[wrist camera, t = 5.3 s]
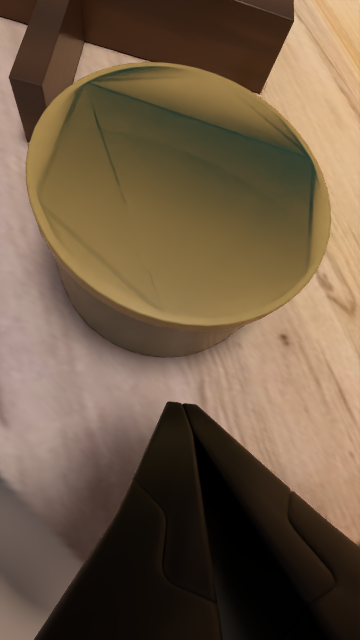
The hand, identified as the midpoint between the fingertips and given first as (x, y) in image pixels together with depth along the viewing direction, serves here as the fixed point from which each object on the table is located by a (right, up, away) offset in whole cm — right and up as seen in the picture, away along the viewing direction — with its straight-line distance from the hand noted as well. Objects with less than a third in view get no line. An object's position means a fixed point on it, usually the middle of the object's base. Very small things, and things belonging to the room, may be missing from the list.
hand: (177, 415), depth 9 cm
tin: (-1, +6, +11) cm, 12 cm away
